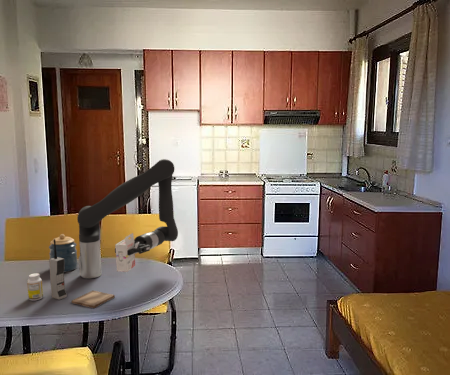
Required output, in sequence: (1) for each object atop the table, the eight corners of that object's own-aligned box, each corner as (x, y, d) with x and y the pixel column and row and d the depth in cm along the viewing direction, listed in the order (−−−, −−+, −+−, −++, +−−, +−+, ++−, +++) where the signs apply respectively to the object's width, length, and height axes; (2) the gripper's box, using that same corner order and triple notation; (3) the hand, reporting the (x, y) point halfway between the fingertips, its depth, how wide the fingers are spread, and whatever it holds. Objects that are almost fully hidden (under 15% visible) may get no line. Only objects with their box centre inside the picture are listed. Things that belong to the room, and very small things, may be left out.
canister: (82, 265, 221) (81, 231, 219) (68, 273, 209) (66, 238, 206) (60, 263, 224) (58, 230, 222) (44, 271, 212) (42, 236, 209)
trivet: (71, 302, 174) (71, 300, 174) (92, 292, 185) (92, 290, 184) (94, 308, 169) (93, 305, 168) (114, 297, 179) (114, 294, 179)
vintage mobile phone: (59, 300, 177) (55, 241, 173) (51, 297, 179) (47, 239, 176) (66, 297, 180) (63, 239, 176) (59, 294, 183) (55, 237, 179)
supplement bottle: (36, 295, 182) (34, 271, 181) (46, 297, 180) (44, 273, 179) (25, 299, 177) (23, 276, 176) (35, 302, 175) (33, 277, 174)
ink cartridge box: (124, 265, 187) (123, 232, 185) (135, 265, 186) (134, 232, 184) (116, 271, 179) (114, 237, 176) (127, 272, 178) (125, 237, 175)
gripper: (133, 232, 196) (108, 240, 181) (159, 235, 190) (135, 245, 175) (133, 248, 197) (108, 258, 182) (159, 252, 191) (135, 263, 176)
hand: (121, 251), depth 179 cm, fingers closed on ink cartridge box, 6 cm apart
